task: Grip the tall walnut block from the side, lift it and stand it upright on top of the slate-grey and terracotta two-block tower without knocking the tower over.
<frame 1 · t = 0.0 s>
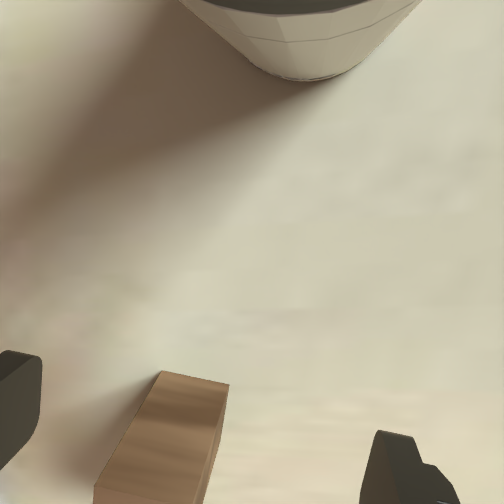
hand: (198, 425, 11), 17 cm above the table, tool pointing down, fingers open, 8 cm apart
walnut block: (191, 406, 31), on the table
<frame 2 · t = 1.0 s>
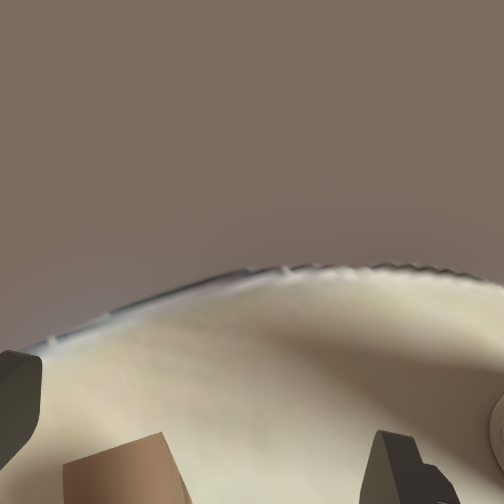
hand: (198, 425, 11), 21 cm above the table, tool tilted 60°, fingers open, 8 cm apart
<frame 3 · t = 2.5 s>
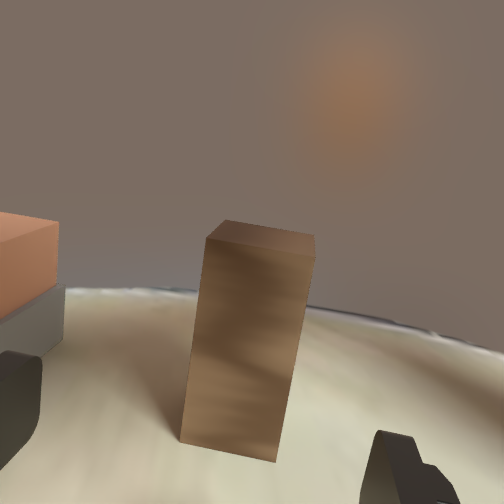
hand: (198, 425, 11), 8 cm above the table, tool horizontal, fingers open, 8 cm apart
walnut block: (234, 423, 24), on the table
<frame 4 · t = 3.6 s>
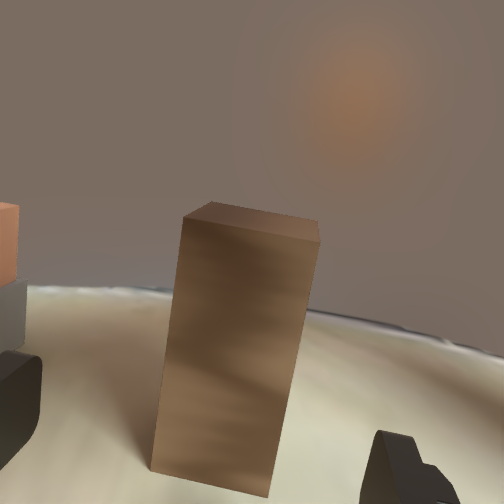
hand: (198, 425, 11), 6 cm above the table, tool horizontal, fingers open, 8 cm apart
walnut block: (219, 446, 20), on the table
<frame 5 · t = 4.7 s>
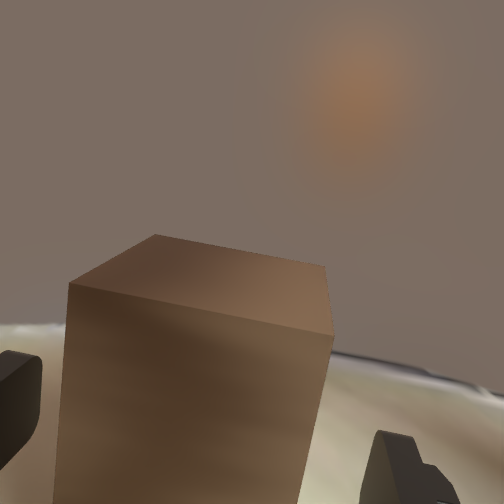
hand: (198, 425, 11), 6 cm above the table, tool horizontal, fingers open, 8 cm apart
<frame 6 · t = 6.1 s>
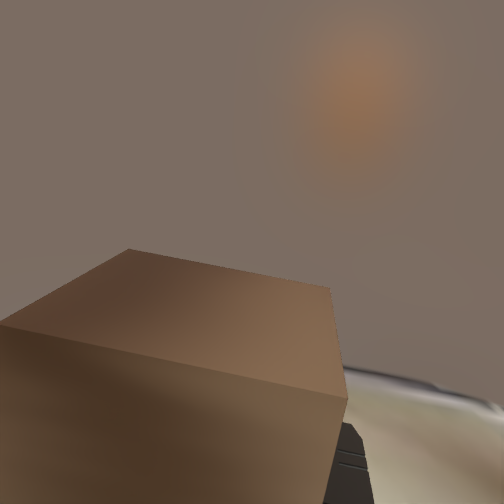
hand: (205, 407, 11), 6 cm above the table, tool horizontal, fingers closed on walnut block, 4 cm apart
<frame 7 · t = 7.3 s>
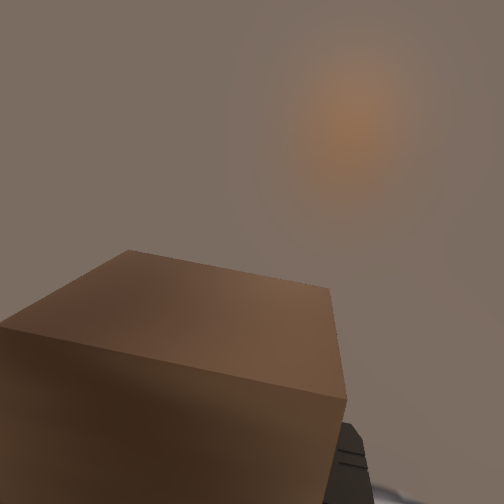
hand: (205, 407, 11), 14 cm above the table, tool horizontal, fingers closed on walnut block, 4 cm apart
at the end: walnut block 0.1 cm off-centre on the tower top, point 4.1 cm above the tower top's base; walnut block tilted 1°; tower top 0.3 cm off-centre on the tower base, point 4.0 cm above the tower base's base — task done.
